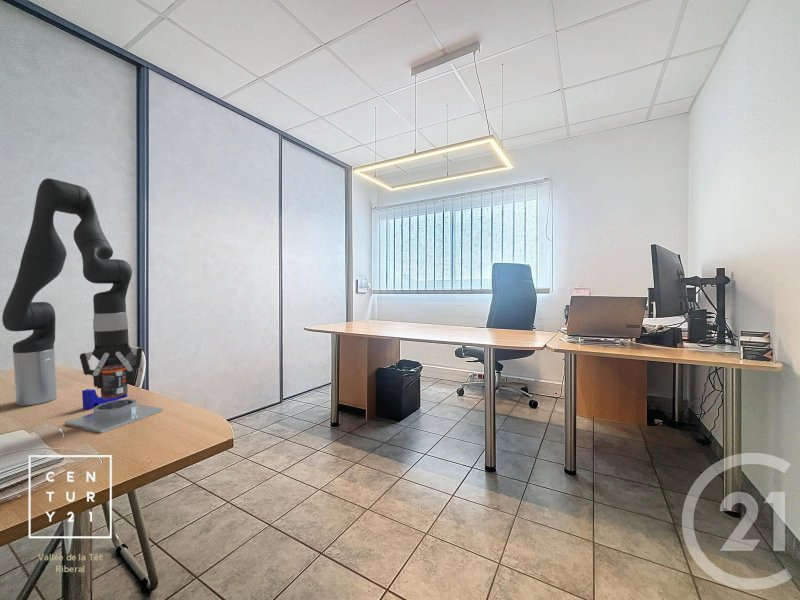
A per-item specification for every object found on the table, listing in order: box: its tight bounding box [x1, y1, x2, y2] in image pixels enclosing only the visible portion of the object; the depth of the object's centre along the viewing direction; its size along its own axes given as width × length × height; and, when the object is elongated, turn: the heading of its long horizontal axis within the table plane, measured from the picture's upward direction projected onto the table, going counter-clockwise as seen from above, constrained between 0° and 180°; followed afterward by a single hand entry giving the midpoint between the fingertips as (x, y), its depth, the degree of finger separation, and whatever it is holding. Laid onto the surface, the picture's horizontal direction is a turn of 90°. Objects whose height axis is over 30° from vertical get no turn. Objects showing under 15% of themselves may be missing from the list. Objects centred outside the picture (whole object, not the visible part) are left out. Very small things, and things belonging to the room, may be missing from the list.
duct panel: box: [64, 398, 164, 434], centre depth 98 cm, size 16×16×4 cm
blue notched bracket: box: [81, 388, 128, 410], centre depth 111 cm, size 12×4×6 cm, turn 172°
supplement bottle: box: [99, 358, 129, 399], centre depth 97 cm, size 6×6×11 cm
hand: (114, 385), depth 97 cm, fingers closed on supplement bottle, 6 cm apart
